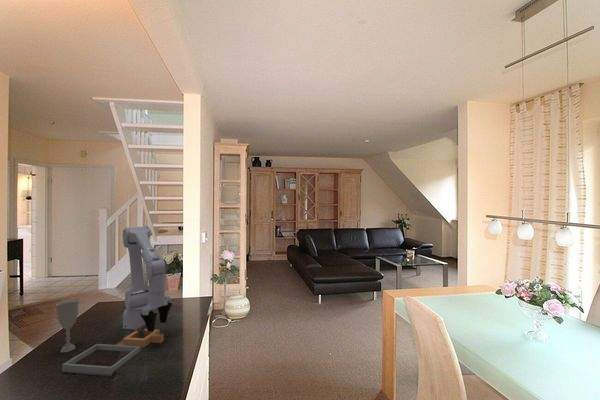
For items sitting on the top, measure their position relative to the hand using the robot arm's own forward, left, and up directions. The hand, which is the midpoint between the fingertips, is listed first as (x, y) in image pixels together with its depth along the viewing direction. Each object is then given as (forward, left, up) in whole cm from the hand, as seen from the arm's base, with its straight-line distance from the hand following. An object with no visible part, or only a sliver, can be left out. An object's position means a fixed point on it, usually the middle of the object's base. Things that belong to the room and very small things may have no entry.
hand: (157, 326), depth 111 cm
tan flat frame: (-5, 0, -6) cm, 7 cm away
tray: (-11, -14, -7) cm, 19 cm away
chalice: (-30, -9, -7) cm, 32 cm away
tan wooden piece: (-9, 0, -7) cm, 11 cm away
